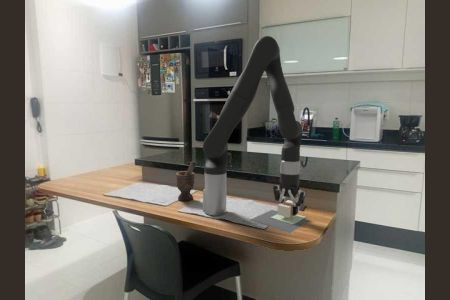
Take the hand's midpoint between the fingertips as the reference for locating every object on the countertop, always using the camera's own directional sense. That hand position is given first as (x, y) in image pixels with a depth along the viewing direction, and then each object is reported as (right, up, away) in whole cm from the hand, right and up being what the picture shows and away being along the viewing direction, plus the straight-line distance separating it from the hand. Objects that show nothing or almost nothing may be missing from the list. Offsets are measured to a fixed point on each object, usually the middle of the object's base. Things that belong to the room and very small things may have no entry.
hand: (288, 213), depth 120 cm
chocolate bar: (+4, -2, +10) cm, 11 cm away
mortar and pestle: (-43, +1, +24) cm, 49 cm away
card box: (0, 0, 0) cm, 0 cm away
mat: (-4, -3, -2) cm, 5 cm away
